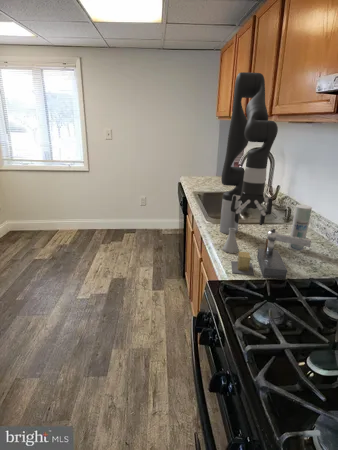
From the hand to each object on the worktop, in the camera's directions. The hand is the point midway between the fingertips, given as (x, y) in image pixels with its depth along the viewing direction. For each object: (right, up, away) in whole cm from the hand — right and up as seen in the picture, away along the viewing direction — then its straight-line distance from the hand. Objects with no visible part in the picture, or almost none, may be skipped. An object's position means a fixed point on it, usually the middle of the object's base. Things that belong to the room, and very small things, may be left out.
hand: (248, 223), depth 111 cm
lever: (+17, -7, +6) cm, 19 cm away
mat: (-1, -17, +6) cm, 18 cm away
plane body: (+10, -17, +7) cm, 21 cm away
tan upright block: (-1, -17, +6) cm, 18 cm away
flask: (-2, -12, +22) cm, 25 cm away
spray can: (+29, -12, +27) cm, 41 cm away
